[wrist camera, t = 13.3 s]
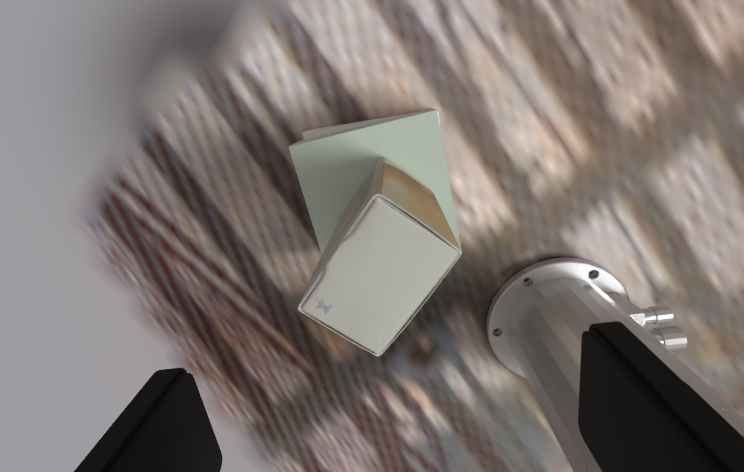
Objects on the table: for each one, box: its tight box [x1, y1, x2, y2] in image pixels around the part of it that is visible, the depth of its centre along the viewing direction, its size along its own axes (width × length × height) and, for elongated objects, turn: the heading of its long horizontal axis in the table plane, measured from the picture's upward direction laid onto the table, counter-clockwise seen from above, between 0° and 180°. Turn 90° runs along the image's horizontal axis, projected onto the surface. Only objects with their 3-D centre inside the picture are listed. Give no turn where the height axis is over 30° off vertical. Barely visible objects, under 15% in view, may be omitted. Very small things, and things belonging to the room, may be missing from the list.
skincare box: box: [298, 157, 462, 356], centre depth 21 cm, size 6×4×12 cm
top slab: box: [289, 108, 462, 255], centre depth 29 cm, size 10×10×3 cm
